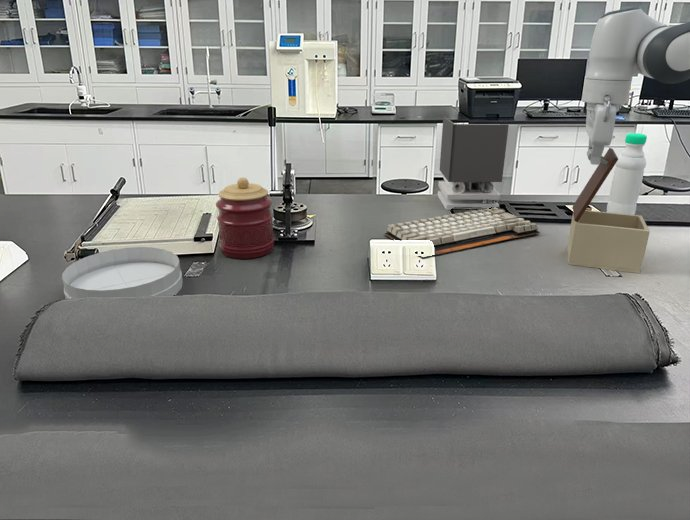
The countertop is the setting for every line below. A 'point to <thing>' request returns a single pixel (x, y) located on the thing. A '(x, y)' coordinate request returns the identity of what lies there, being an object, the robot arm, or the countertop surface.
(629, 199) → the water bottle
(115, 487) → the countertop surface
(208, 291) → the countertop surface
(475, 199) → the electrical transformer
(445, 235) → the mechanical keyboard
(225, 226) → the kitchen canister
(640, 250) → the box
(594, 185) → the lid
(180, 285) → the dish
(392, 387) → the countertop surface
